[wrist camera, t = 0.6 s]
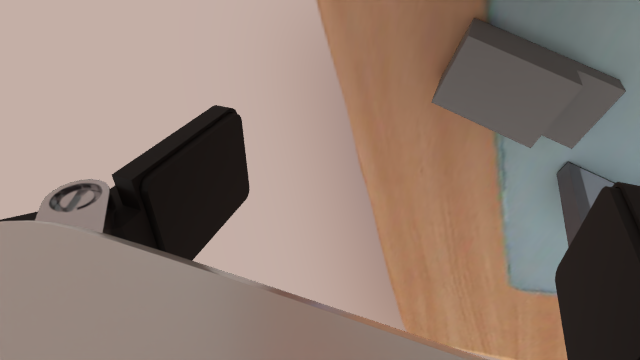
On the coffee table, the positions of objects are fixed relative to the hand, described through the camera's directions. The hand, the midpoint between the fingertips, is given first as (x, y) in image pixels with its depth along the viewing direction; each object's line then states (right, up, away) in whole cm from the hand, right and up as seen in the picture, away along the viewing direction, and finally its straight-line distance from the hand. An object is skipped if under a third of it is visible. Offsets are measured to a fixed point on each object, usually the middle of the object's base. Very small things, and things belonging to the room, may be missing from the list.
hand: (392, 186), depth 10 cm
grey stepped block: (+16, +9, +24) cm, 31 cm away
